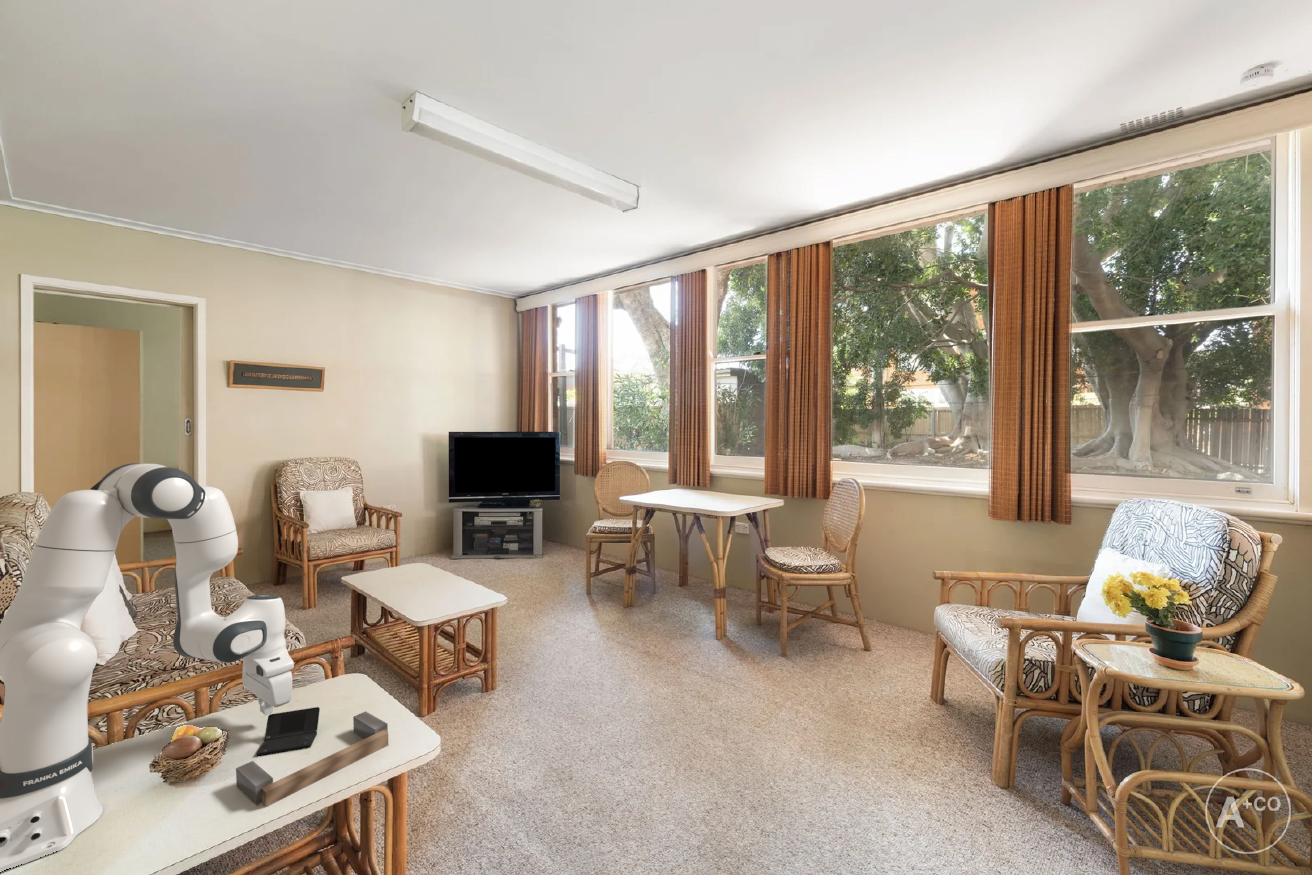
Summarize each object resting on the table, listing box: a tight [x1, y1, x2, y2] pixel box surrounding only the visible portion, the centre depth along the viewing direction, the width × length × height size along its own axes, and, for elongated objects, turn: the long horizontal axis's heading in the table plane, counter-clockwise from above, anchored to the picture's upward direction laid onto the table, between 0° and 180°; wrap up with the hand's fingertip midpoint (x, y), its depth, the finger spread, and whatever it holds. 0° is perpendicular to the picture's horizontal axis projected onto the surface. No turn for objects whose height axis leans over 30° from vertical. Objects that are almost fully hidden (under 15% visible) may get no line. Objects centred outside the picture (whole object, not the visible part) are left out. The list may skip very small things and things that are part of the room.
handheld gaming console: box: [255, 706, 320, 758], centre depth 131 cm, size 12×7×10 cm
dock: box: [235, 711, 389, 807], centre depth 122 cm, size 27×12×4 cm, turn 146°
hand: (266, 712), depth 138 cm, fingers closed
